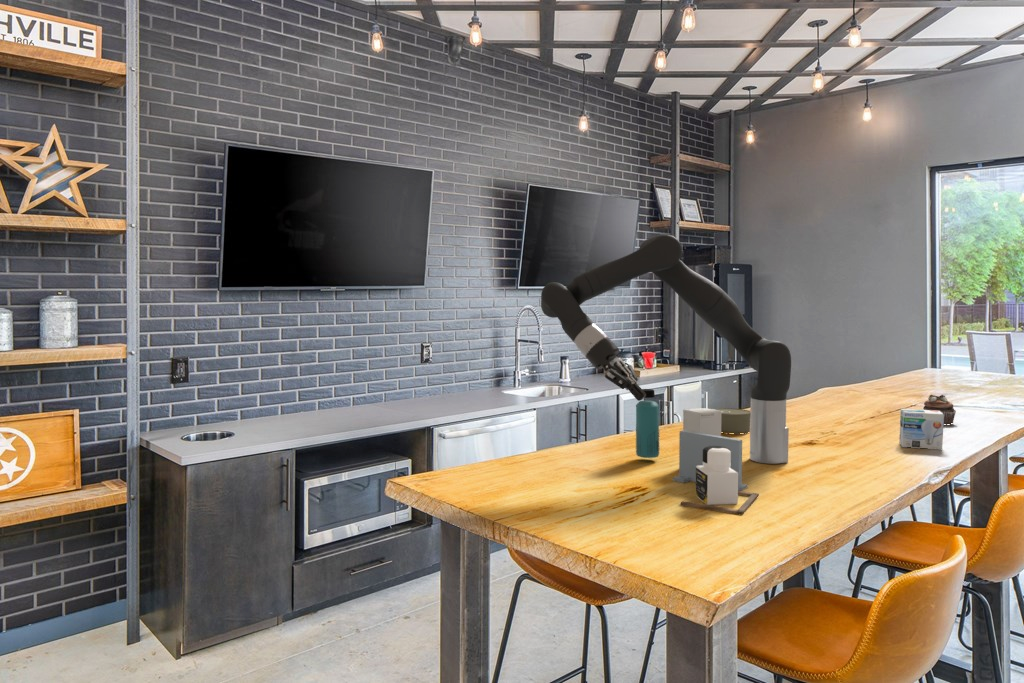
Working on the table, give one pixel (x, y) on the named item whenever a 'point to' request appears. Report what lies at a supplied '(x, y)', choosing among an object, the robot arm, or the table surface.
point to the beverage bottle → (647, 427)
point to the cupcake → (941, 407)
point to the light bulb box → (921, 428)
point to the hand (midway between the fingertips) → (642, 398)
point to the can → (735, 420)
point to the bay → (740, 511)
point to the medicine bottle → (716, 477)
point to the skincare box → (702, 421)
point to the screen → (693, 454)
